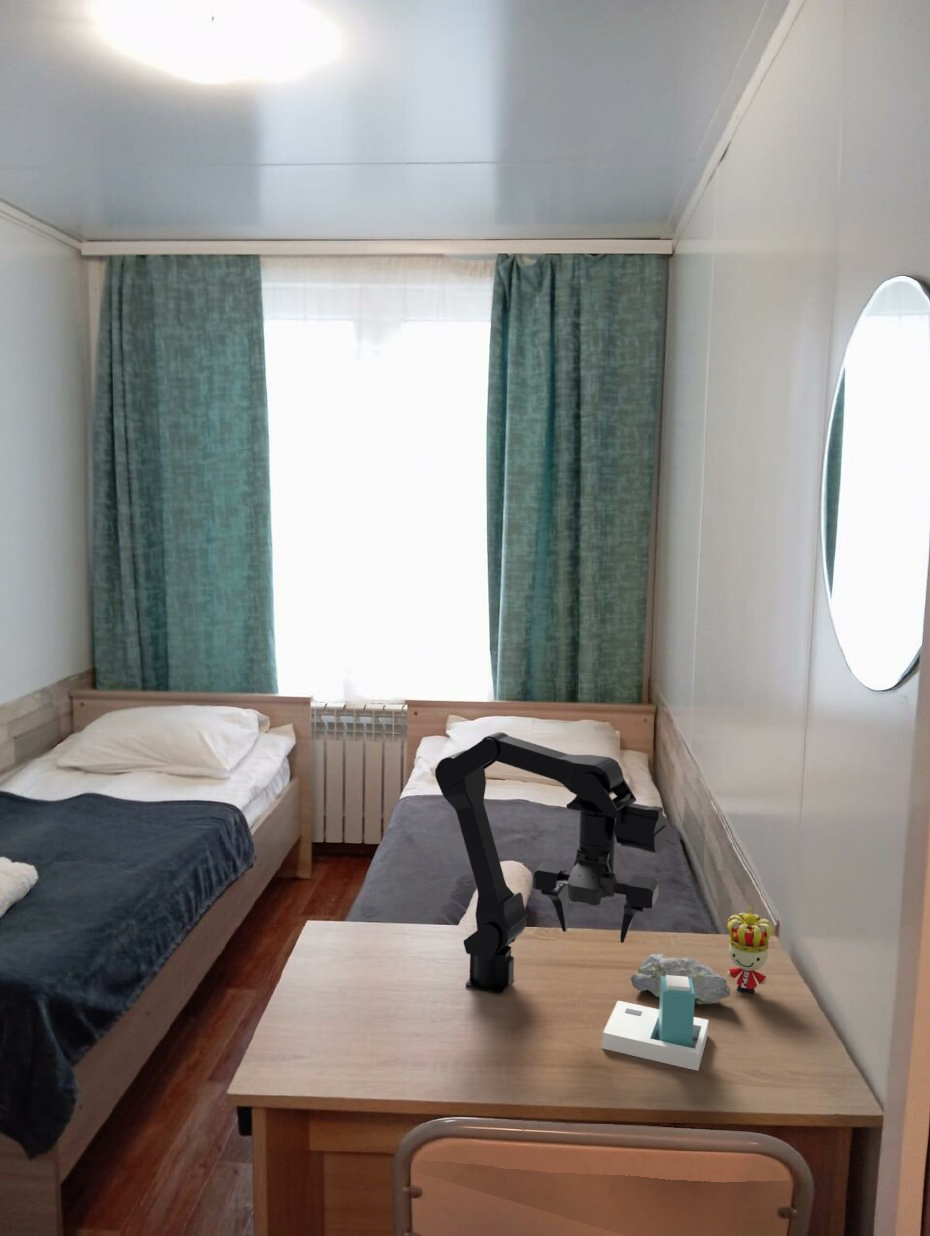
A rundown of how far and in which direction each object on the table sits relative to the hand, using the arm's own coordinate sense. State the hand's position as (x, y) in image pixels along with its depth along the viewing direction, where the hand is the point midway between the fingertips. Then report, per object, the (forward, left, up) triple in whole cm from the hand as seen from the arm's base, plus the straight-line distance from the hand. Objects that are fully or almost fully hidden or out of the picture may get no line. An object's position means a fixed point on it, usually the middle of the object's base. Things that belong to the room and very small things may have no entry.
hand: (593, 936), depth 149 cm
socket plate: (+11, -4, -13) cm, 17 cm away
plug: (+14, -4, -12) cm, 19 cm away
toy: (+22, +18, -13) cm, 31 cm away
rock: (+12, +12, -13) cm, 21 cm away
